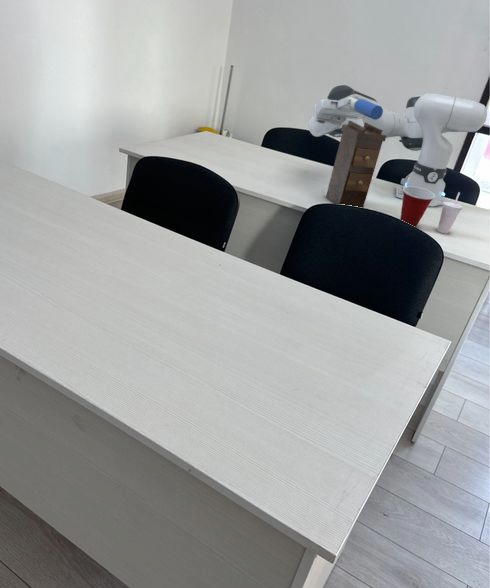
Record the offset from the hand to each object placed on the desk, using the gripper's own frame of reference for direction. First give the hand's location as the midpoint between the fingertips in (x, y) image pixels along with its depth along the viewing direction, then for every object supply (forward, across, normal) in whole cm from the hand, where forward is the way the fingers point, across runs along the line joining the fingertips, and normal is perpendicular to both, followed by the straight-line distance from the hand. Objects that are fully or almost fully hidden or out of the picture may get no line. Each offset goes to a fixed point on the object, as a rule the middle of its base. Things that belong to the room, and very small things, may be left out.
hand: (354, 101), depth 207 cm
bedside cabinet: (-6, 0, -34) cm, 35 cm away
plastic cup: (+11, -15, -45) cm, 48 cm away
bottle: (+5, 0, -6) cm, 7 cm away
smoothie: (+16, -26, -47) cm, 56 cm away
